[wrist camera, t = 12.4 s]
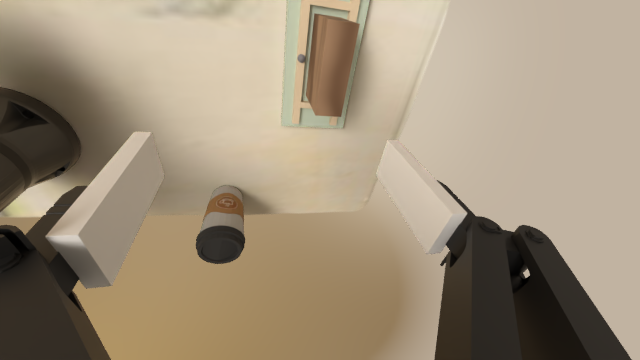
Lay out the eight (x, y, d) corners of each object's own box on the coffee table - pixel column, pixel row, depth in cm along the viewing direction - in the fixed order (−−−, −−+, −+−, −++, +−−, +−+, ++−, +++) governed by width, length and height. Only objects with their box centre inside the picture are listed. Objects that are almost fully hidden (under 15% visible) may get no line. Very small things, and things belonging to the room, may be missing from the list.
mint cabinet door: (281, 122, 47) (282, 129, 44) (289, -47, 33) (291, -49, 30) (340, 125, 50) (344, 131, 47) (371, -29, 36) (379, -30, 33)
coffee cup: (250, 184, 54) (248, 237, 42) (243, 211, 58) (240, 266, 47) (209, 177, 51) (195, 233, 39) (205, 206, 55) (192, 264, 44)
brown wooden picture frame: (305, 95, 43) (315, 115, 36) (314, 13, 36) (328, 19, 29) (327, 96, 44) (341, 116, 37) (340, 17, 37) (360, 24, 30)
